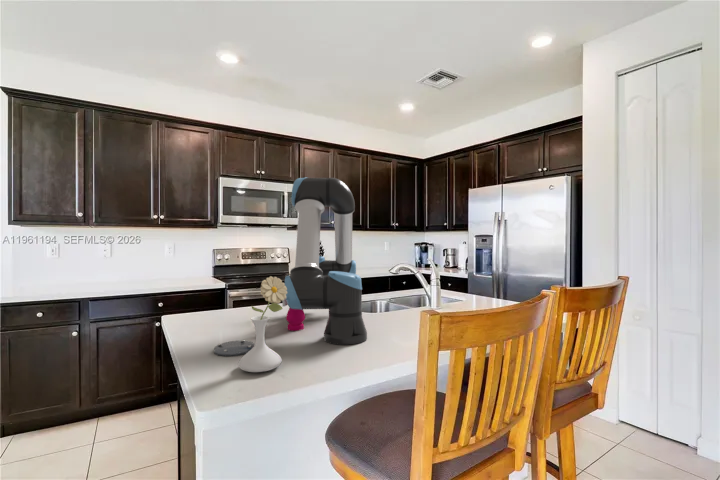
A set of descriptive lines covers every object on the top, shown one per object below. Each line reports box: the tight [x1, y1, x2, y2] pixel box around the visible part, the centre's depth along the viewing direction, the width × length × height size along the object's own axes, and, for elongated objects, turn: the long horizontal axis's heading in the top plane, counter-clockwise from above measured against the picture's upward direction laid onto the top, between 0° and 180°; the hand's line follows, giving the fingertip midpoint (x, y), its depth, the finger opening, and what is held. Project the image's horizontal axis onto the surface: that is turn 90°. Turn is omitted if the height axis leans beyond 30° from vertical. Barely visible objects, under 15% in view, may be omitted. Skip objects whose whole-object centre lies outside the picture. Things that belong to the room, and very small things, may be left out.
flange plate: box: [213, 339, 255, 357], centre depth 113 cm, size 12×12×2 cm
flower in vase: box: [237, 275, 287, 373], centre depth 97 cm, size 13×11×25 cm
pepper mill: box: [285, 307, 306, 332], centre depth 138 cm, size 7×7×20 cm
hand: (290, 303), depth 133 cm, fingers closed on pepper mill, 5 cm apart
